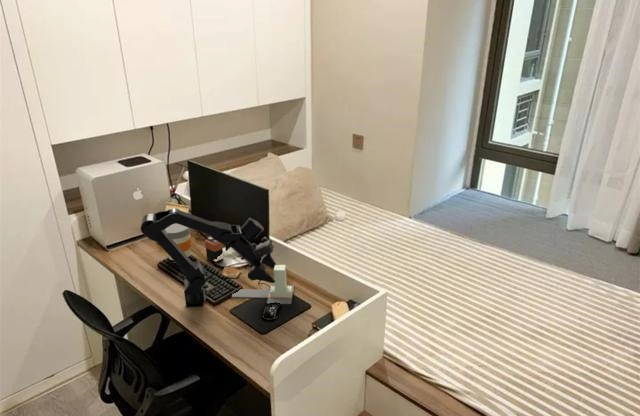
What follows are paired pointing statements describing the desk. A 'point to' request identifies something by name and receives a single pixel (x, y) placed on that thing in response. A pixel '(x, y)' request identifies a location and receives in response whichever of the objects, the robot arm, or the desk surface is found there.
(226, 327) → the desk surface
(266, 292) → the t mat
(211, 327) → the desk surface
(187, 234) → the reusable coffee cup
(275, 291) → the t post
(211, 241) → the battery
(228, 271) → the shard
